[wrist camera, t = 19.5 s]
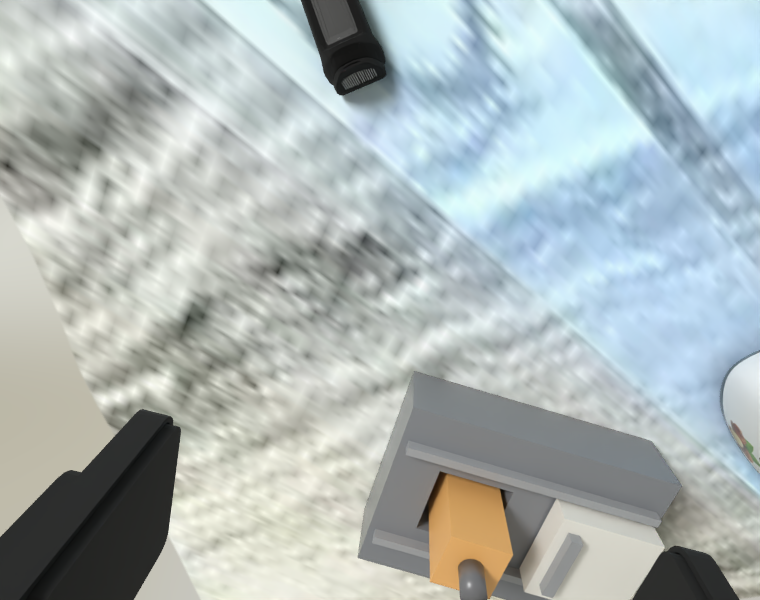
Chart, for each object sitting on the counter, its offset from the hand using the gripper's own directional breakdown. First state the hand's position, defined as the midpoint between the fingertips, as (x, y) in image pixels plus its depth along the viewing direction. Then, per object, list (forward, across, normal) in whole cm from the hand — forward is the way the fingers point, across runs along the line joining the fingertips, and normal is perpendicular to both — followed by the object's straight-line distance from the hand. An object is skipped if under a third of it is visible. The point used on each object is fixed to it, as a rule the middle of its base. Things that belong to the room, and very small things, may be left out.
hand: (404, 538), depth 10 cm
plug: (+27, -8, +18) cm, 34 cm away
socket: (+27, -12, +18) cm, 35 cm away
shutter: (+22, -17, +18) cm, 34 cm away
